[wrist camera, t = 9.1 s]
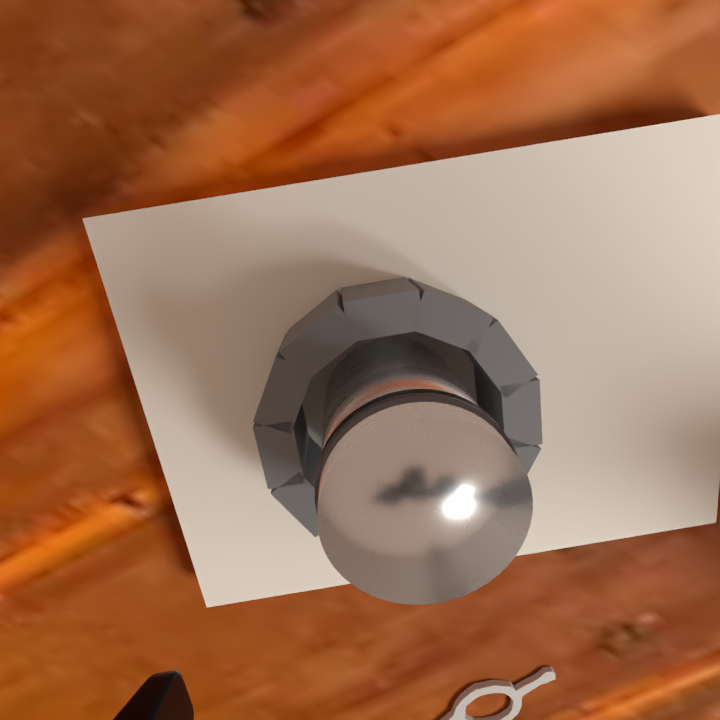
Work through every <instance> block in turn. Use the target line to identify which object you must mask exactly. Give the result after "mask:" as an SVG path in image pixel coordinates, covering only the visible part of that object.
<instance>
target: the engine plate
mask: <svg viewBox="0 0 720 720" xmlns="http://www.w3.org/2000/svg"><path fill="white" fill-rule="evenodd" d="M82 219H83V222H84V225H85V228H86V232H87V235H88V238H89V241H90V244H91V247H92V250H93V253H94V257H95V260H96V263H97V266H98V269H99V272H100V275H101V278H102V282H103V285H104V288H105V291H106V294H107V297H108V300H109V303H110V307H111V310H112V313H113V316H114V319H115V322H116V325H117V328H118V332H119V335H120V338H121V341H122V344H123V347H124V350H125V353H126V357H127V360H128V363H129V366H130V369H131V372H132V375H133V378H134V382H135V385H136V388H137V391H138V394H139V397H140V400H141V403H142V407H143V410H144V413H145V416H146V419H147V422H148V425H149V428H150V432H151V435H152V438H153V441H154V444H155V447H156V450H157V453H158V457H159V460H160V463H161V466H162V469H163V472H164V475H165V478H166V482H167V485H168V488H169V491H170V494H171V497H172V500H173V503H174V507H175V510H176V513H177V516H178V519H179V522H180V525H181V528H182V532H183V535H184V538H185V541H186V544H187V547H188V550H189V553H190V557H191V560H192V563H193V566H194V569H195V572H196V575H197V578H198V582H199V585H200V588H201V591H202V594H203V597H204V600H205V603H206V607H212V606H218V605H224V604H230V603H236V602H242V601H249V600H255V599H261V598H267V597H273V596H279V595H285V594H291V593H297V592H303V591H309V590H315V589H321V588H327V587H333V586H339V585H345V584H351V583H349V582H348V581H347V580H346V579H345V578H344V577H342V576H341V575H340V573H339V572H338V571H337V570H336V569H335V568H334V567H333V565H332V564H331V562H330V561H329V559H328V558H327V556H326V553H325V551H324V549H323V547H322V544H321V541H320V538H319V533H318V526H317V513H316V507H315V479H316V471H317V465H318V461H319V458H320V455H321V449H322V435H323V421H324V406H325V395H326V389H327V385H328V382H329V380H330V377H331V375H332V373H333V372H334V370H335V368H336V367H337V365H338V364H339V363H340V362H341V361H342V360H343V359H344V358H345V357H346V356H347V355H348V354H349V353H350V352H352V351H353V350H355V349H356V348H358V347H360V346H362V345H364V344H366V343H369V342H371V341H375V340H379V339H385V338H403V339H409V340H413V341H416V342H419V343H421V344H423V345H426V346H427V347H429V348H430V349H432V350H433V351H435V352H436V353H437V354H438V355H440V357H441V358H442V359H443V360H444V361H445V362H446V363H447V365H448V366H449V367H450V369H451V370H452V371H453V373H454V374H455V375H456V377H457V378H458V379H459V381H460V382H461V383H462V384H463V386H464V387H465V388H466V390H467V391H468V392H469V394H470V395H471V396H472V398H473V399H474V400H475V402H476V403H477V404H478V406H479V407H480V408H482V409H483V410H484V411H485V412H487V413H488V414H489V415H490V416H491V417H492V418H493V419H494V421H495V422H496V423H497V424H498V425H499V426H500V428H501V429H502V430H503V432H504V433H505V434H506V436H507V437H508V439H509V440H510V442H511V443H512V445H513V447H514V449H515V451H516V453H517V456H518V459H519V460H520V462H521V463H522V465H523V467H524V469H525V471H526V473H527V475H528V478H529V481H530V485H531V489H532V496H533V513H532V519H531V524H530V527H529V530H528V534H527V536H526V538H525V541H524V543H523V545H522V547H521V548H520V550H519V551H518V553H517V554H516V556H519V555H525V554H531V553H537V552H543V551H549V550H555V549H561V548H567V547H573V546H579V545H585V544H591V543H597V542H603V541H609V540H615V539H621V538H627V537H633V536H639V535H645V534H651V533H657V532H663V531H669V530H675V529H681V528H687V527H693V526H699V525H705V524H711V523H716V518H717V507H718V495H719V483H720V114H718V115H712V116H706V117H700V118H693V119H687V120H681V121H675V122H669V123H663V124H657V125H651V126H645V127H638V128H632V129H626V130H620V131H614V132H608V133H602V134H596V135H590V136H583V137H577V138H571V139H565V140H559V141H553V142H547V143H541V144H535V145H528V146H522V147H516V148H510V149H504V150H498V151H492V152H486V153H479V154H473V155H467V156H461V157H455V158H449V159H443V160H437V161H431V162H424V163H418V164H412V165H406V166H400V167H394V168H388V169H382V170H376V171H369V172H363V173H357V174H351V175H345V176H339V177H333V178H327V179H321V180H314V181H308V182H302V183H296V184H290V185H284V186H278V187H272V188H266V189H259V190H253V191H247V192H241V193H235V194H229V195H223V196H217V197H211V198H204V199H198V200H192V201H186V202H180V203H174V204H168V205H162V206H156V207H149V208H143V209H137V210H131V211H125V212H119V213H113V214H107V215H101V216H94V217H88V218H82Z"/></svg>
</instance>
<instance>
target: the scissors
mask: <svg viewBox="0 0 720 720" xmlns="http://www.w3.org/2000/svg"><path fill="white" fill-rule="evenodd" d="M554 679H555V673H554V671H553V669H552V668H551V666H547V667H543V668H541V669H540V670H539V671H538V672H537V673H535V674H534V675H532V676H530V677H528V678H526V679H524V680H522V681H520V682H518V683H517V684H515V685H513V684H512V683H511V682H510V681H503V680H488V681H483V682H479V683H474V684H473V685H471V686H470V687H468V688H467V689H466V690H464V691H463V692H462V693H461V694H460V695H459V696H458V698H457V699H456V700H455V702H454V704H453V707H452V710H451V711H449V712H448V713H447V714H446V715H445V716H443V717H442V718H441V719H440V720H512V719H513V718H514V717H515V716H516V715H517V714H518V712H519V710H520V708H521V705H522V696H524V695H525V694H527V693H528V692H530V691H531V690H533V689H534V688H536V687H537V686H539V685H541V684H545V683H548V682H550V681H552V680H554ZM491 693H504V694H506V695H508V696H509V697H510V698H511V700H510V704H509V706H508V707H507V709H505V710H504V711H502V712H501V713H499V714H496V715H494V716H489V717H480V718H473V717H472V716H470V715H468V714H466V713H465V711H466V706H467V705H468V704H469V703H470V702H471V701H473V700H474V699H476V698H477V697H479V696H482V695H484V694H491Z"/></svg>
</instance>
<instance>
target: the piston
mask: <svg viewBox="0 0 720 720" xmlns="http://www.w3.org/2000/svg"><path fill="white" fill-rule="evenodd" d="M315 507H316V513H317V526H318V533H319V538H320V541H321V544H322V547H323V549H324V551H325V553H326V556H327V558H328V559H329V561H330V562H331V564H332V565H333V567H334V568H335V569H336V570H337V571H338V572H339V573H340V575H341V576H342V577H344V578H345V579H346V580H347V581H348V582H349V583H351V584H352V585H353V586H355V587H357V588H358V589H360V590H361V591H363V592H365V593H367V594H369V595H372V596H374V597H377V598H380V599H383V600H386V601H390V602H395V603H401V604H432V603H439V602H444V601H449V600H452V599H455V598H458V597H461V596H464V595H466V594H468V593H471V592H473V591H475V590H477V589H478V588H480V587H482V586H484V585H485V584H487V583H488V582H490V581H491V580H492V579H494V578H495V577H496V576H497V575H499V574H500V573H501V572H502V571H503V570H504V569H505V568H506V567H507V566H508V565H509V563H510V562H511V561H512V560H513V559H514V558H515V556H516V554H517V553H518V551H519V550H520V548H521V547H522V545H523V543H524V541H525V538H526V536H527V534H528V530H529V527H530V524H531V519H532V513H533V496H532V489H531V485H530V481H529V478H528V475H527V473H526V471H525V469H524V467H523V465H522V463H521V462H520V460H519V459H518V456H517V453H516V451H515V449H514V447H513V445H512V443H511V442H510V440H509V439H508V437H507V436H506V434H505V433H504V432H503V430H502V429H501V428H500V426H499V425H498V424H497V423H496V422H495V421H494V419H493V418H492V417H491V416H490V415H489V414H488V413H487V412H485V411H484V410H483V409H482V408H480V407H479V406H478V404H477V403H476V402H475V400H474V399H473V398H472V396H471V395H470V394H469V392H468V391H467V390H466V388H465V387H464V386H463V384H462V383H461V382H460V381H459V379H458V378H457V377H456V375H455V374H454V373H453V371H452V370H451V369H450V367H449V366H448V365H447V363H446V362H445V361H444V360H443V359H442V358H441V357H440V355H438V354H437V353H436V352H435V351H433V350H432V349H430V348H429V347H427V346H426V345H423V344H421V343H419V342H416V341H413V340H409V339H403V338H385V339H379V340H375V341H371V342H369V343H366V344H364V345H362V346H360V347H358V348H356V349H355V350H353V351H352V352H350V353H349V354H348V355H347V356H346V357H345V358H344V359H343V360H342V361H341V362H340V363H339V364H338V365H337V367H336V368H335V370H334V372H333V373H332V375H331V377H330V380H329V382H328V385H327V389H326V395H325V406H324V421H323V435H322V449H321V455H320V458H319V461H318V465H317V471H316V479H315Z"/></svg>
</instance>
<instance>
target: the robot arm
mask: <svg viewBox="0 0 720 720" xmlns="http://www.w3.org/2000/svg"><path fill="white" fill-rule="evenodd" d="M113 720H194V712H193V706H192V703H191V700H190V697H189V694H188V692H187V689H186V686H185V683H184V680H183V678H182V675H181V673H179V672H178V671H175V670H174V671H168V672H162V673H156V674H154V675H152V676H151V677H149V678H148V679H147V680H146V681H145V682H144V684H143V685H142V686H141V687H140V688H139V690H138V691H137V692H136V693H135V694H134V695H133V697H132V698H131V699H130V700H129V701H128V702H127V704H126V705H125V706H124V707H123V708H122V710H121V711H120V712H119V713H118V714H117V715H116V717H115V718H114V719H113Z"/></svg>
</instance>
